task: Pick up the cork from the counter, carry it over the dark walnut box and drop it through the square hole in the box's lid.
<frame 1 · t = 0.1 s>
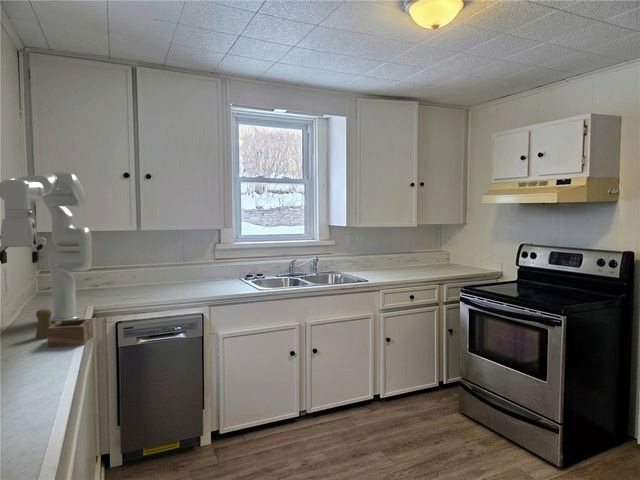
hand: (19, 262, 155), 31 cm above the counter, fingers open, 9 cm apart
cork: (44, 337, 171), on the counter
box: (71, 341, 166), on the counter
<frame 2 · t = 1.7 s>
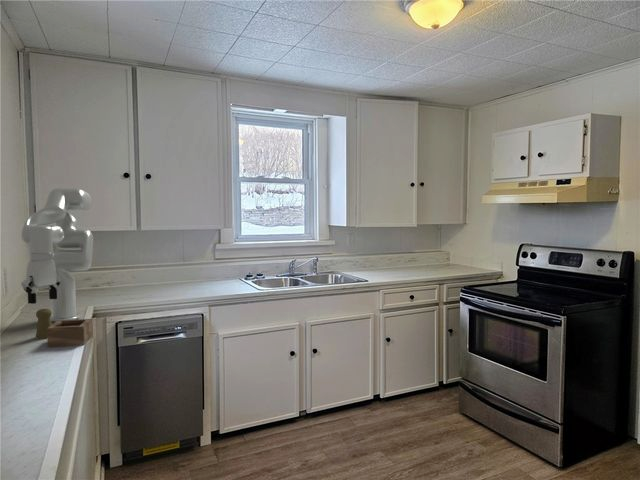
hand: (43, 301, 170), 14 cm above the counter, fingers open, 9 cm apart
nothing on the counter moved.
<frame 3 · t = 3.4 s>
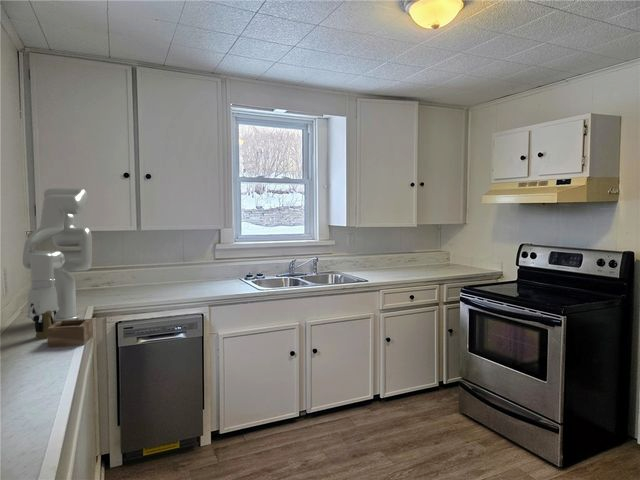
hand: (44, 329, 171), 3 cm above the counter, fingers closed on cork, 4 cm apart
cork: (44, 337, 171), on the counter, touching gripper
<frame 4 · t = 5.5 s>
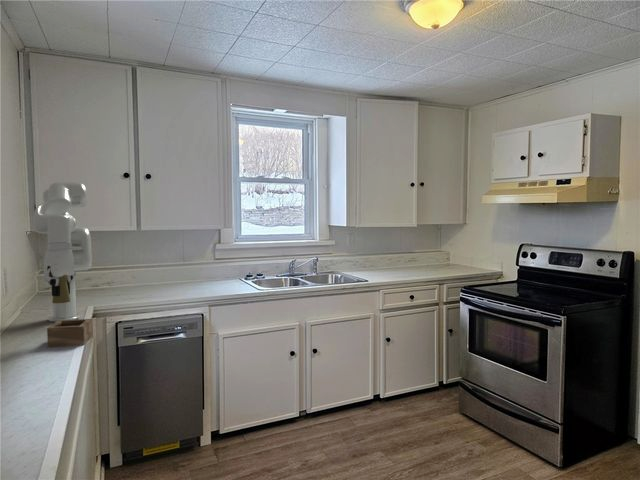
hand: (61, 294, 166), 18 cm above the counter, fingers closed on cork, 4 cm apart
cork: (61, 302, 166), point 15 cm above the counter, touching gripper
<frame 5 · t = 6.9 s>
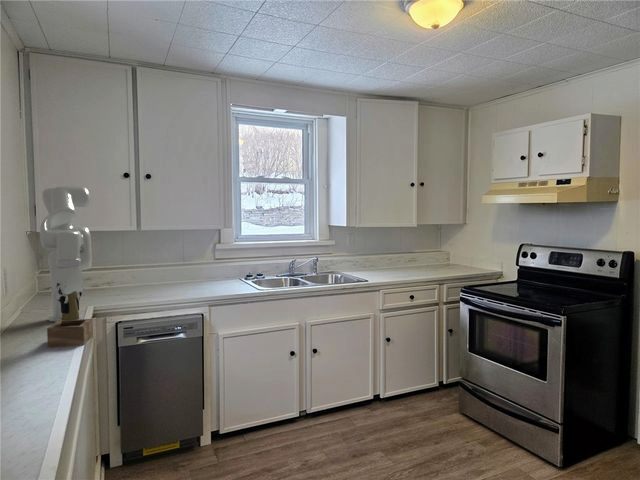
hand: (70, 311, 165), 12 cm above the counter, fingers closed on cork, 4 cm apart
cork: (70, 319, 165), point 9 cm above the counter, touching gripper
when the fingers open (9 cm above the counter, at t = 7.7 s): cork drops 5 cm, resting in box.
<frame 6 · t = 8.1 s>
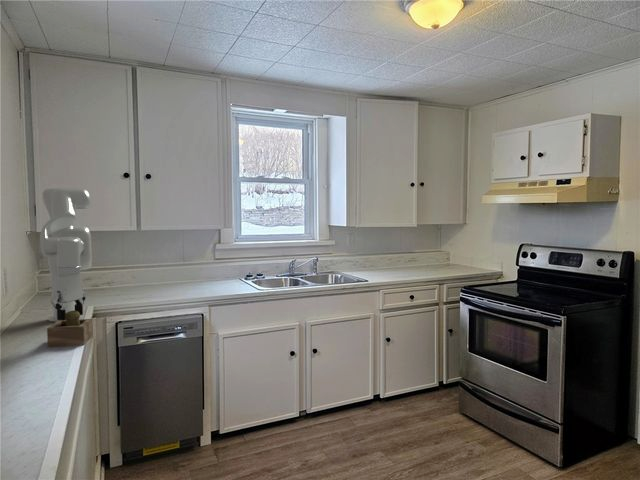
hand: (70, 317, 165), 9 cm above the counter, fingers open, 7 cm apart
cork: (75, 339, 168), resting in box
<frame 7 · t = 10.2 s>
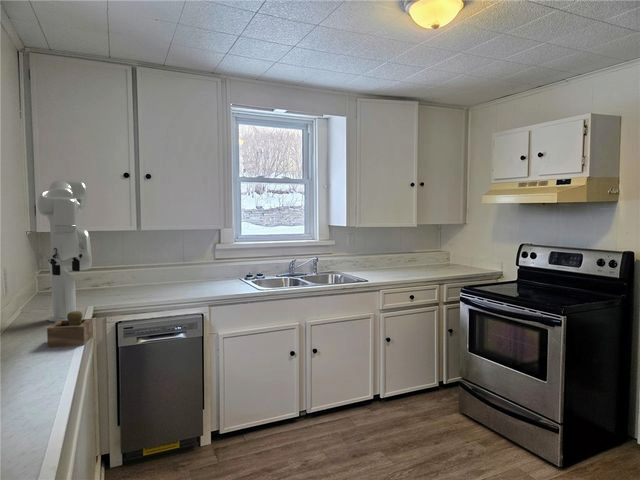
hand: (66, 273, 172), 25 cm above the counter, fingers open, 9 cm apart
cork: (75, 340, 168), resting in box
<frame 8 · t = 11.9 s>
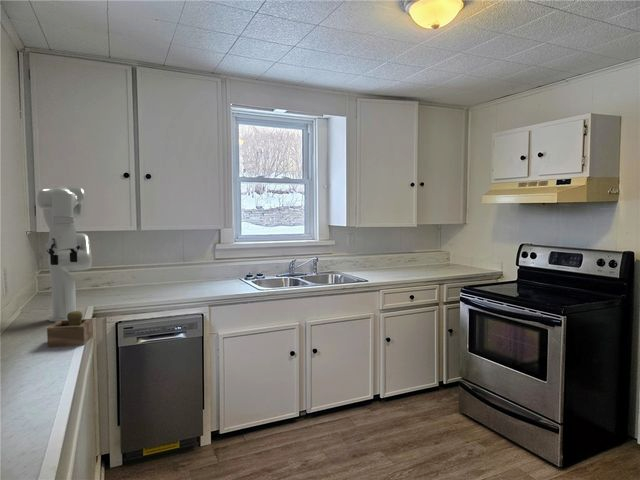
hand: (64, 263, 177), 28 cm above the counter, fingers open, 9 cm apart
nothing on the counter moved.
at the end: cork inside the target area on the box (2.2 cm from its centre), point 0.0 cm above the box's base; the gripper is holding nothing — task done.
